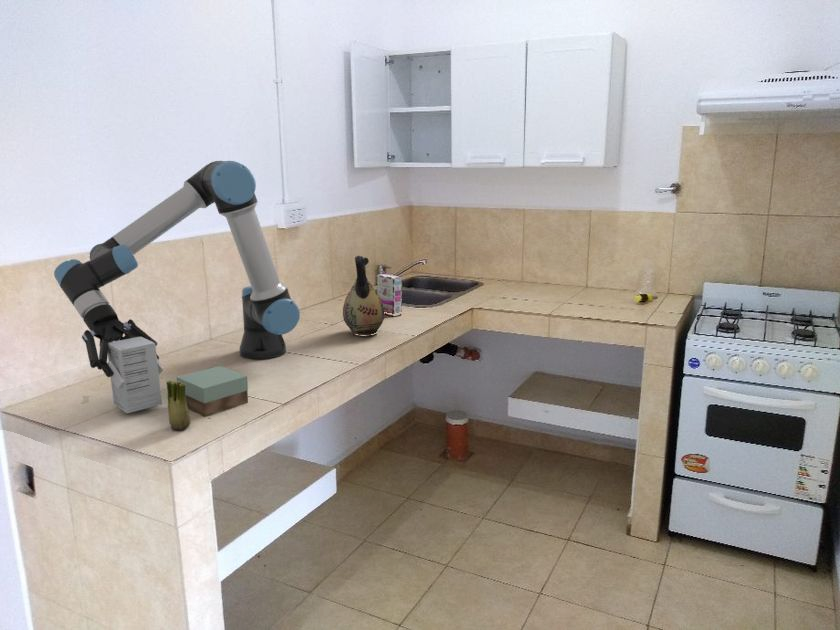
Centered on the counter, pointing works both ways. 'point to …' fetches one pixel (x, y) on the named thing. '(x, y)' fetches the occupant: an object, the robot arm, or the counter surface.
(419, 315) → the counter surface
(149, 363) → the supplement box
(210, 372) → the tower top
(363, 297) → the ceramic jug
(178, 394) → the fennel bulb
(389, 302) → the candy bar box
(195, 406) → the tower base
